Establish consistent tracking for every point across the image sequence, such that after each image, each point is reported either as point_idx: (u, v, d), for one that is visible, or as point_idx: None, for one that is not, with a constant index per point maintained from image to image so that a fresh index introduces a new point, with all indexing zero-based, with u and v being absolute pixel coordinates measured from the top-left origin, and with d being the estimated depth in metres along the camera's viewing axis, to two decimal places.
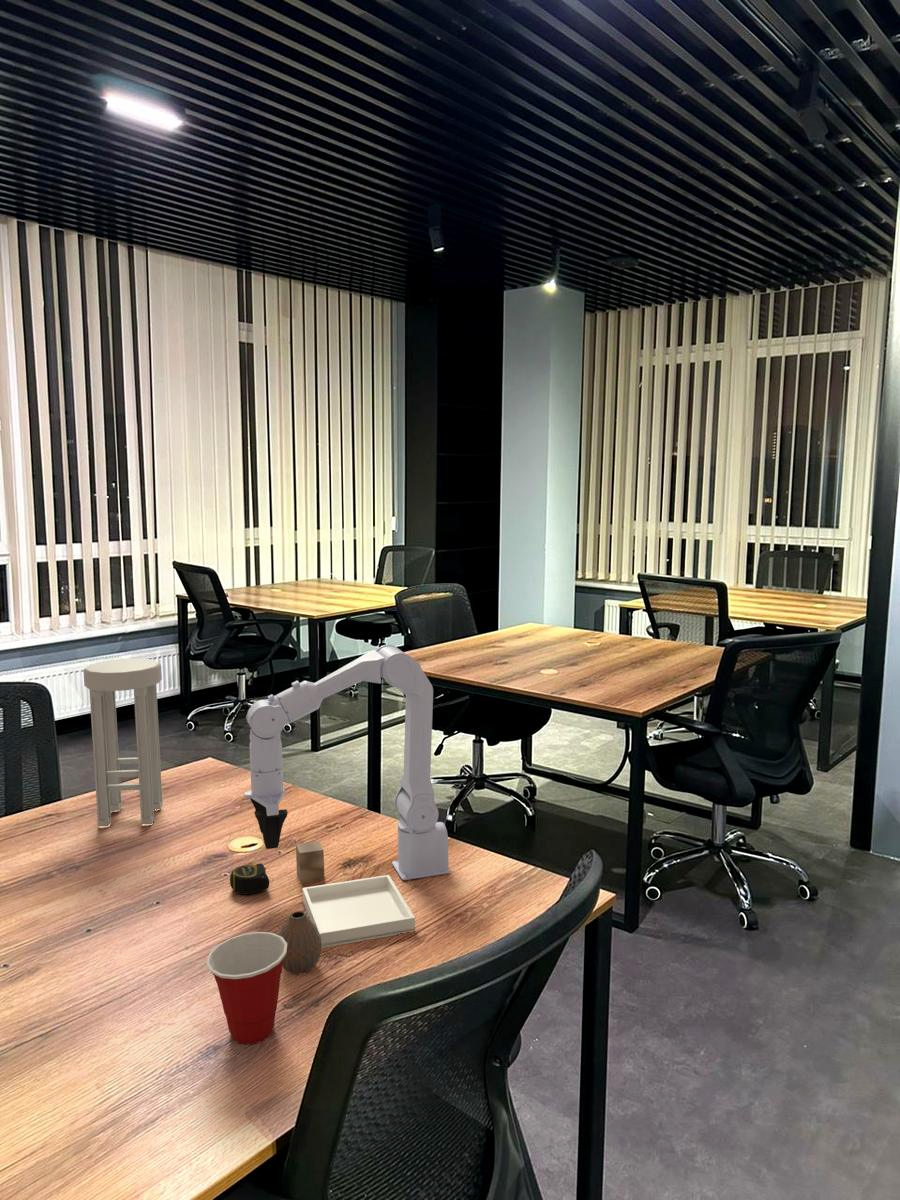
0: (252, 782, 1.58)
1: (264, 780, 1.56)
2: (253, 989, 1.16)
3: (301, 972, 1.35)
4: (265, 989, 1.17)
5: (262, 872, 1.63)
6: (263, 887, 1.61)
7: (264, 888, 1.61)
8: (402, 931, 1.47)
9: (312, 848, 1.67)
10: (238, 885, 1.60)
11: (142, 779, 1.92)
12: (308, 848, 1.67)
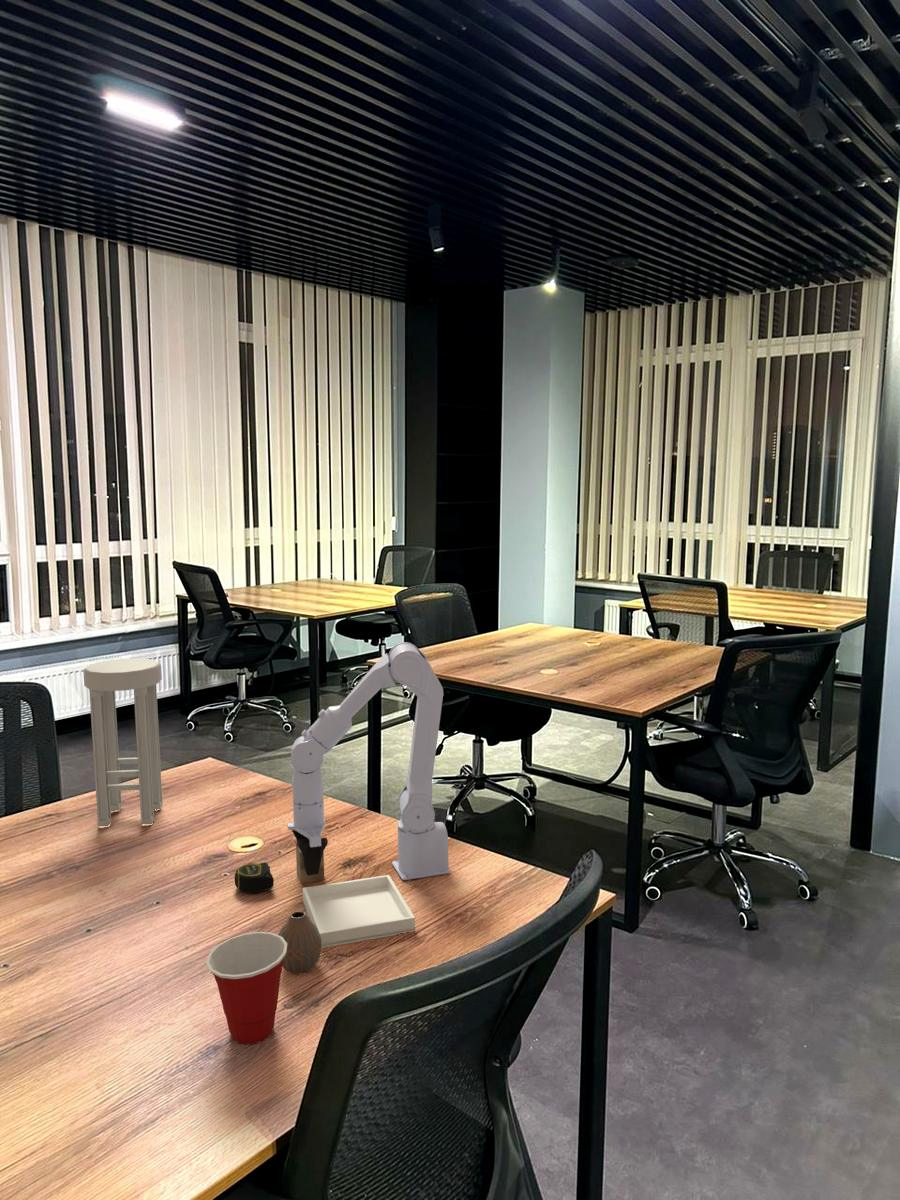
0: (295, 814, 1.65)
1: (306, 812, 1.64)
2: (253, 989, 1.16)
3: (301, 972, 1.35)
4: (265, 989, 1.17)
5: (266, 871, 1.63)
6: (267, 886, 1.61)
7: (268, 887, 1.62)
8: (402, 931, 1.47)
9: None
10: (242, 883, 1.61)
11: (142, 779, 1.92)
12: None
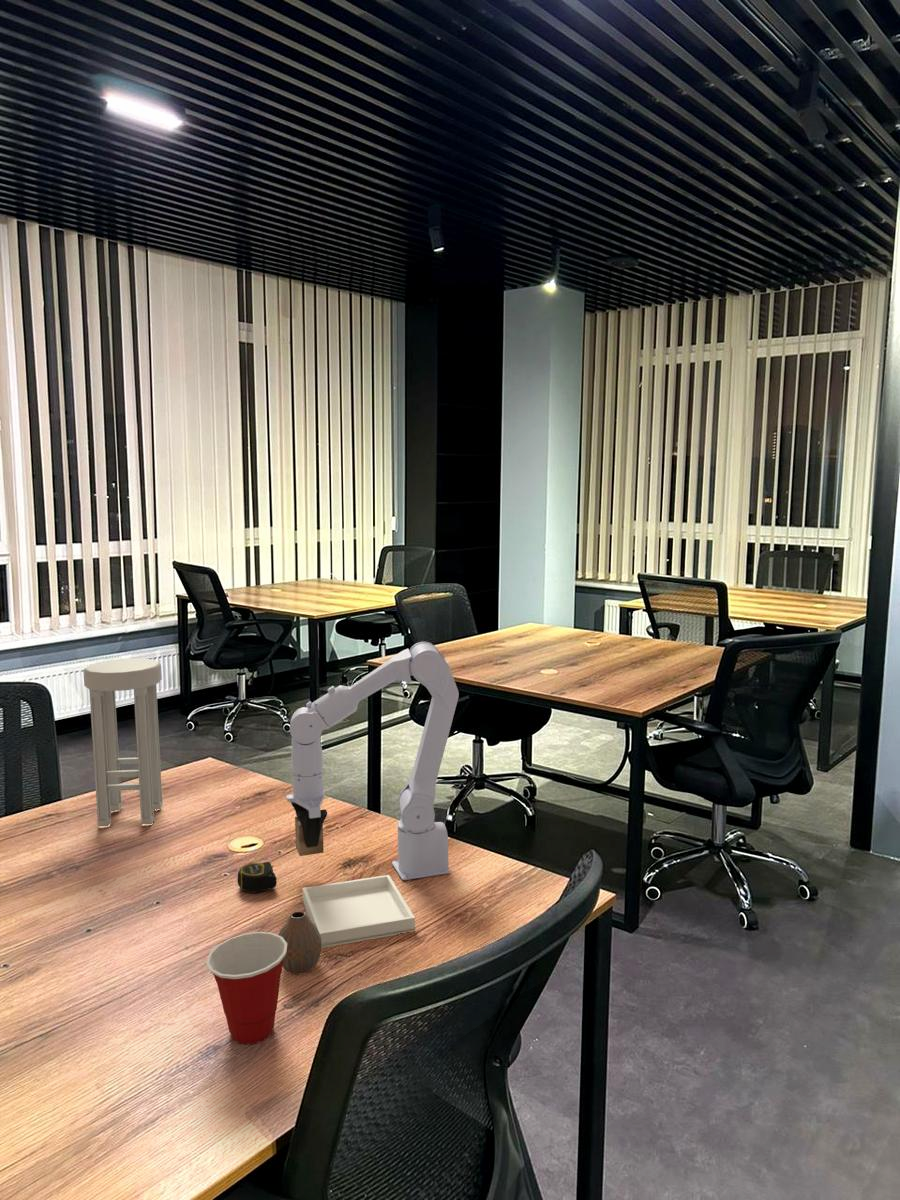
0: (294, 786, 1.64)
1: (306, 784, 1.63)
2: (253, 989, 1.16)
3: (301, 972, 1.35)
4: (265, 989, 1.17)
5: (269, 870, 1.64)
6: (270, 885, 1.62)
7: (271, 886, 1.62)
8: (402, 931, 1.47)
9: None
10: (245, 883, 1.61)
11: (142, 779, 1.92)
12: None
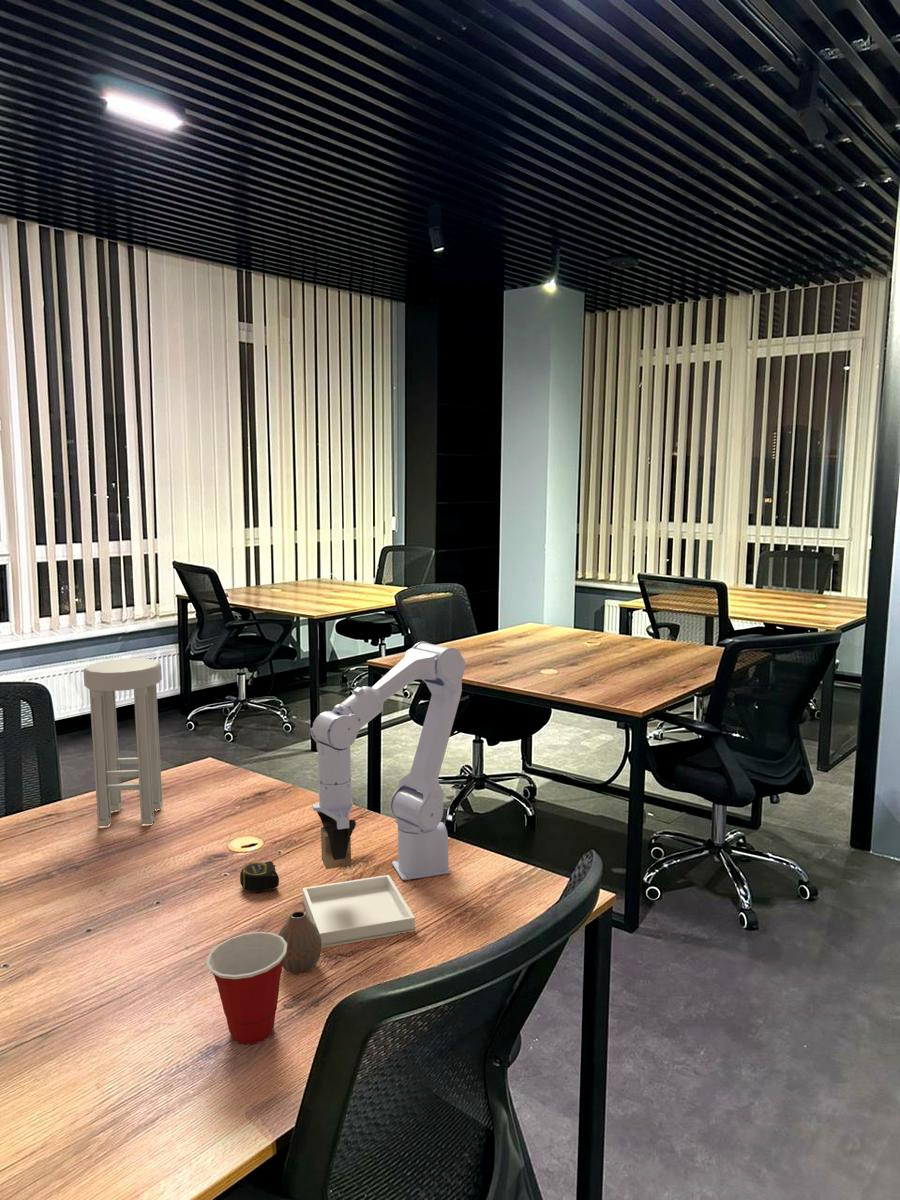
0: (321, 794, 1.55)
1: (333, 793, 1.53)
2: (253, 989, 1.16)
3: (301, 972, 1.35)
4: (265, 989, 1.17)
5: (272, 870, 1.64)
6: (273, 885, 1.62)
7: (274, 886, 1.62)
8: (402, 931, 1.47)
9: None
10: (248, 882, 1.61)
11: (142, 779, 1.92)
12: None
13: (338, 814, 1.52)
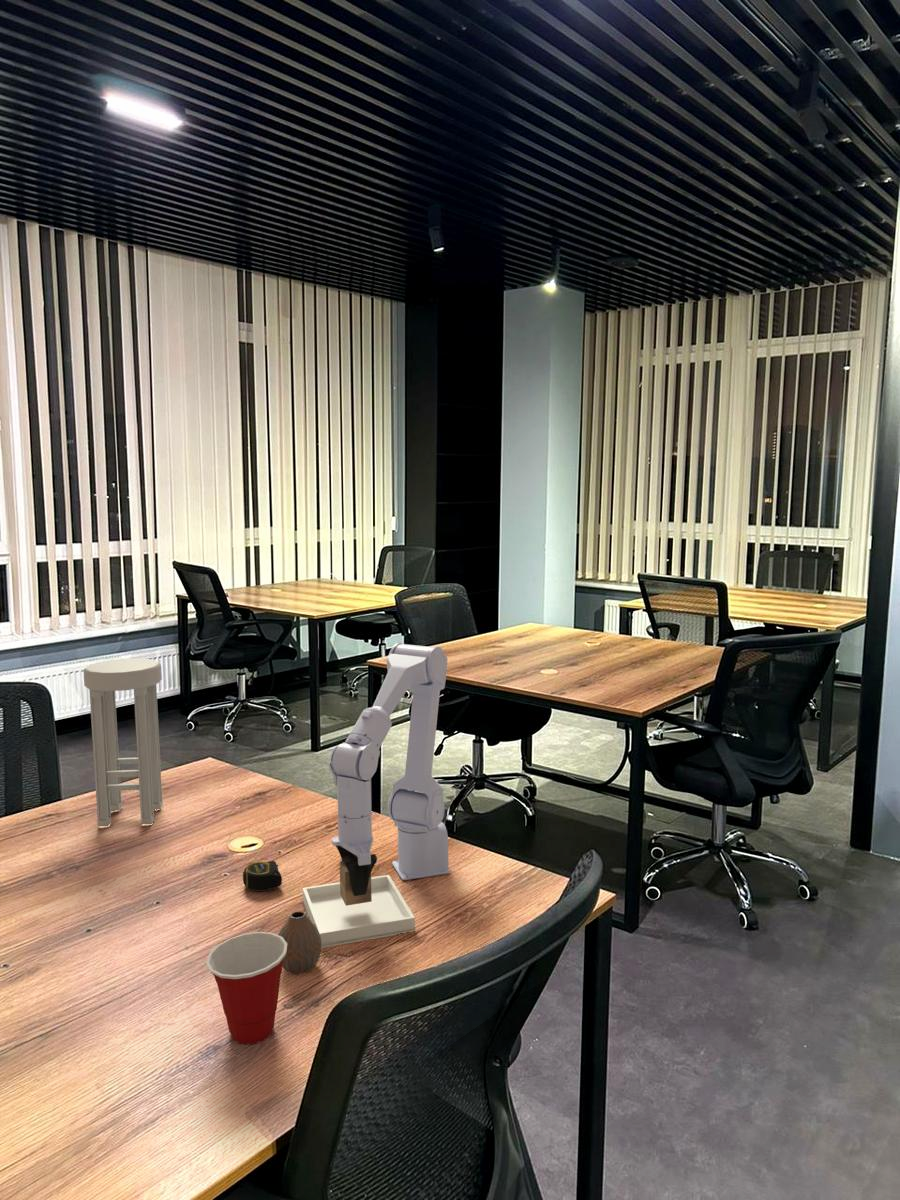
0: (340, 828, 1.49)
1: (354, 827, 1.48)
2: (253, 989, 1.16)
3: (301, 972, 1.35)
4: (265, 989, 1.17)
5: (275, 869, 1.64)
6: (276, 884, 1.62)
7: (277, 885, 1.62)
8: (402, 931, 1.47)
9: None
10: (251, 882, 1.61)
11: (142, 779, 1.92)
12: None
13: (359, 849, 1.47)
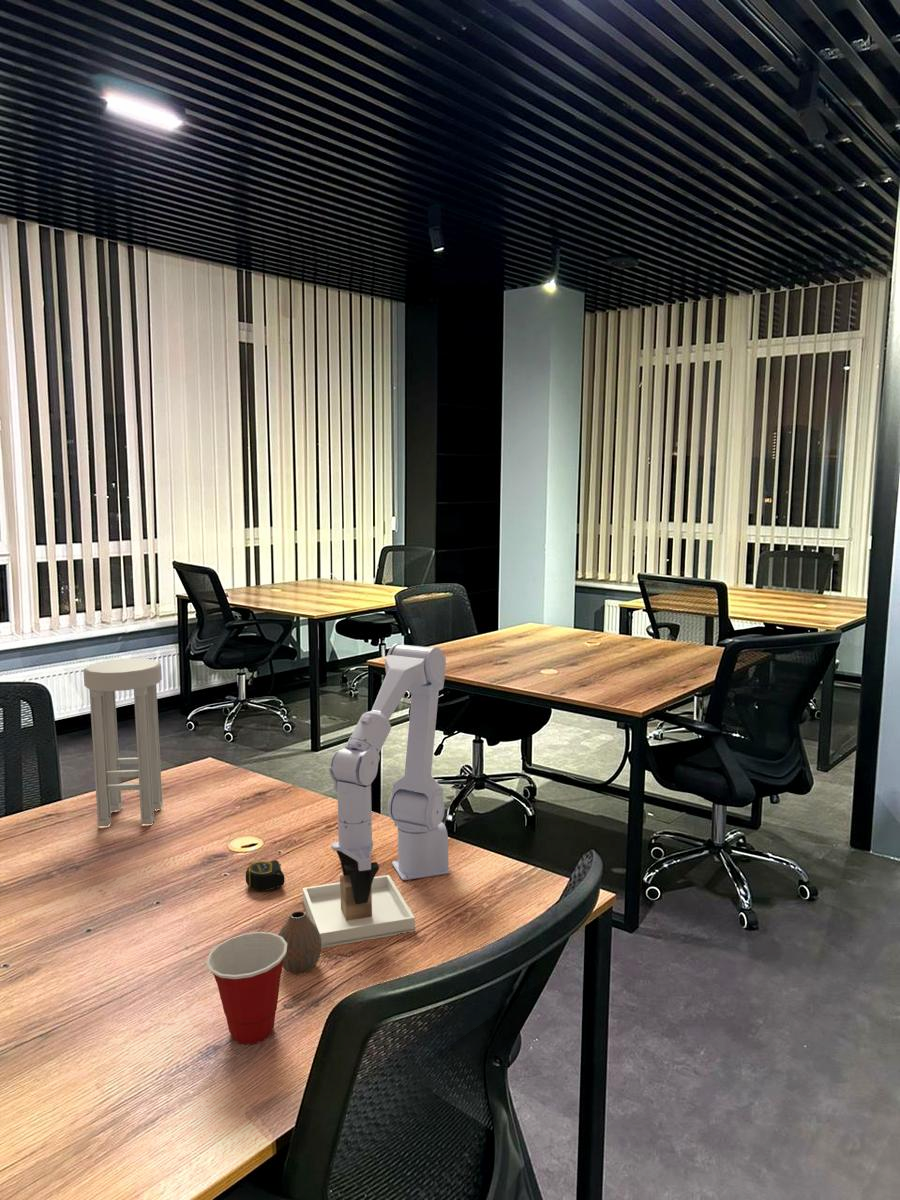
0: (340, 833, 1.49)
1: (354, 832, 1.48)
2: (253, 989, 1.16)
3: (301, 972, 1.35)
4: (265, 989, 1.17)
5: (277, 869, 1.64)
6: (278, 883, 1.62)
7: (279, 884, 1.62)
8: (402, 931, 1.47)
9: None
10: (253, 881, 1.62)
11: (142, 779, 1.92)
12: None
13: (359, 854, 1.47)
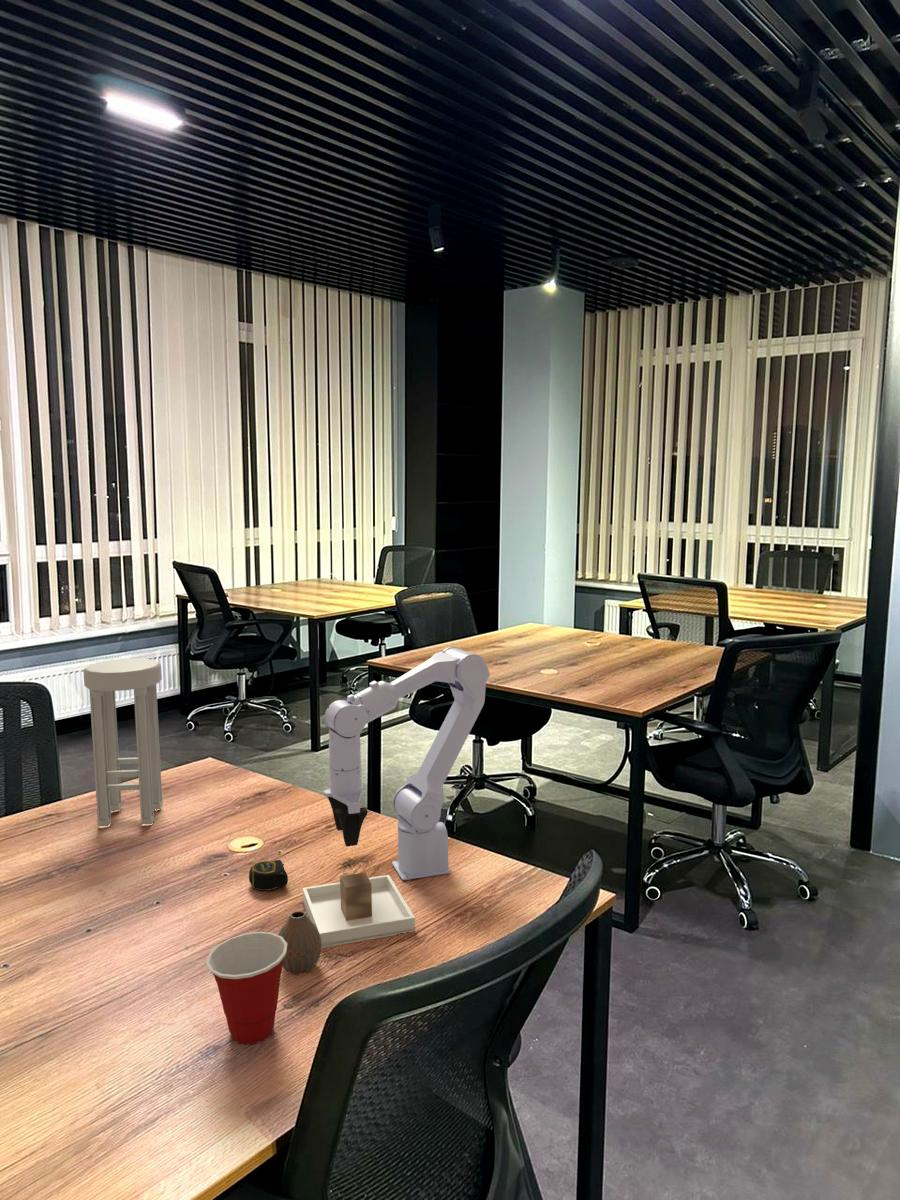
0: (332, 780, 1.60)
1: (344, 779, 1.59)
2: (253, 989, 1.16)
3: (301, 972, 1.35)
4: (265, 989, 1.17)
5: (281, 868, 1.64)
6: (282, 883, 1.63)
7: (283, 884, 1.63)
8: (402, 931, 1.47)
9: (359, 882, 1.51)
10: (257, 881, 1.62)
11: (142, 779, 1.92)
12: (354, 882, 1.51)
13: (349, 799, 1.58)
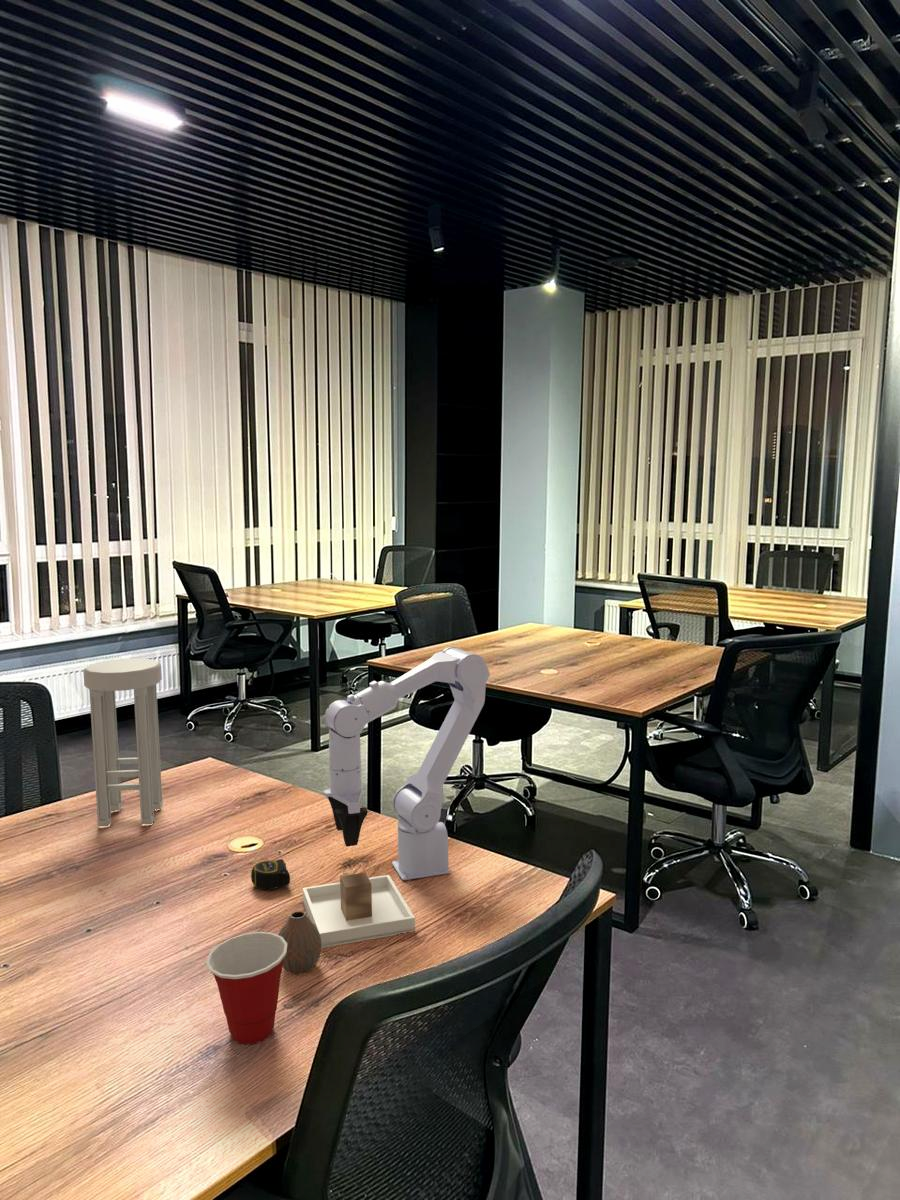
0: (332, 780, 1.60)
1: (344, 779, 1.59)
2: (253, 989, 1.16)
3: (301, 972, 1.35)
4: (265, 989, 1.17)
5: (283, 868, 1.65)
6: (284, 882, 1.63)
7: (285, 883, 1.63)
8: (402, 931, 1.47)
9: (359, 882, 1.51)
10: (259, 880, 1.62)
11: (142, 779, 1.92)
12: (354, 882, 1.51)
13: (349, 799, 1.58)
